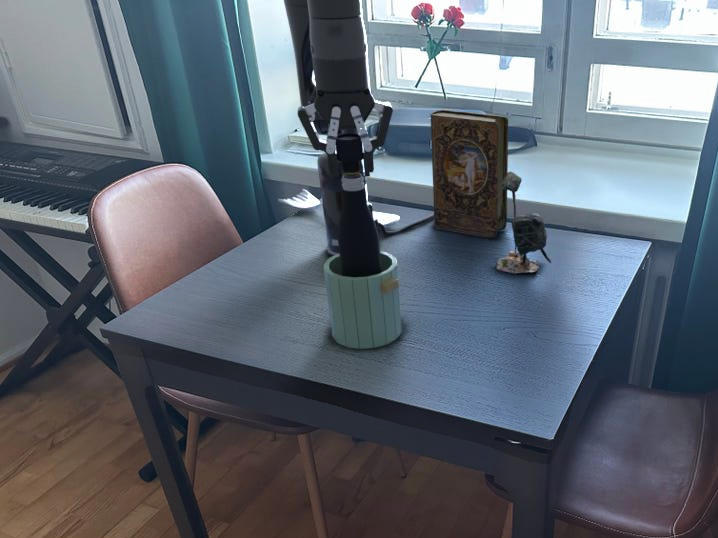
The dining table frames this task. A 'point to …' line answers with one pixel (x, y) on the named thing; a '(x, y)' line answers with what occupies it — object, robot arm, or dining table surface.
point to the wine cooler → (364, 304)
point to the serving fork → (313, 203)
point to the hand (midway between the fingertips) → (351, 175)
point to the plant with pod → (523, 235)
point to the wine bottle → (355, 214)
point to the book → (469, 171)
